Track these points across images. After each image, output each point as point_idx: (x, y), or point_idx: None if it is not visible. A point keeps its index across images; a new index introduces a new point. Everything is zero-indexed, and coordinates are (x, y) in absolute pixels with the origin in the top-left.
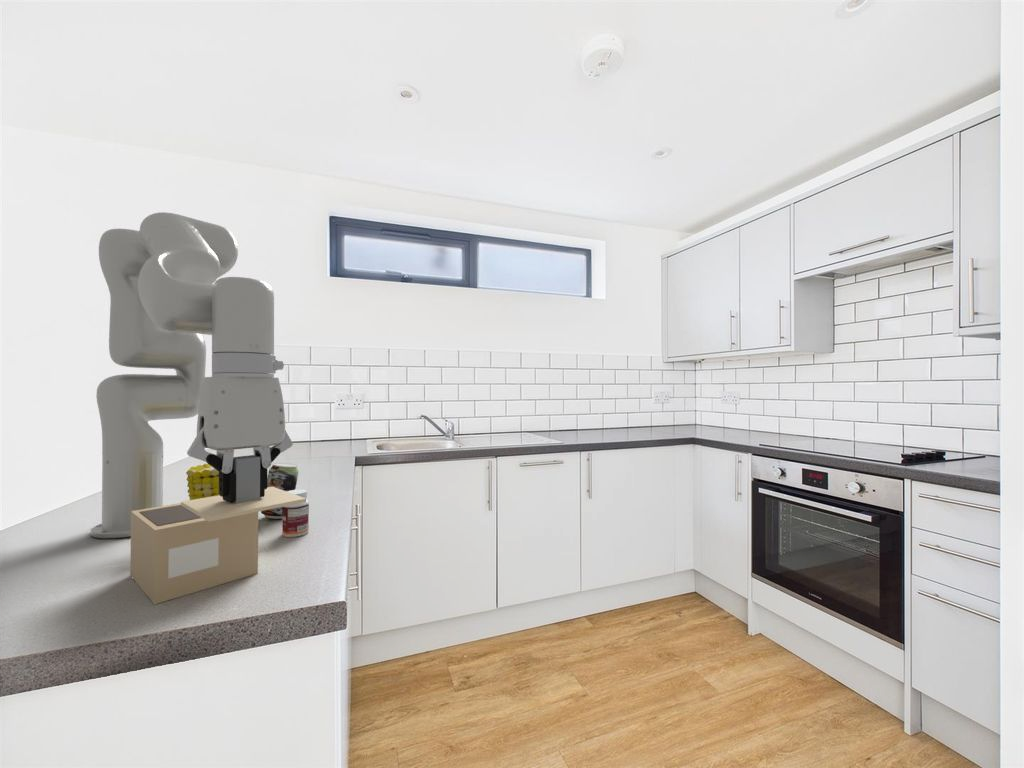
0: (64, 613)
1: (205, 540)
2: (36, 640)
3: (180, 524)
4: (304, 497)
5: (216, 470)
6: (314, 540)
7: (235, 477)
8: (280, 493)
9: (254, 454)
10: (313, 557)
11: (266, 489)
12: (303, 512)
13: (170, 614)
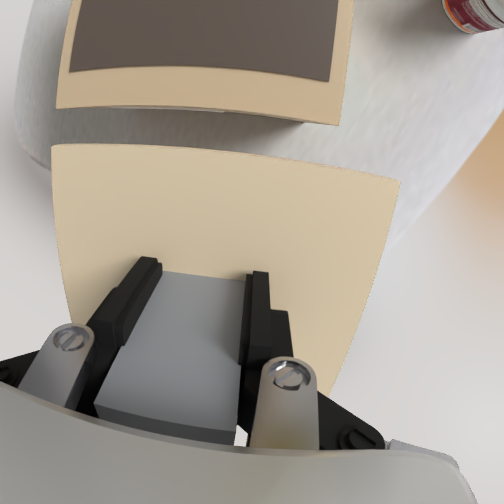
0: (58, 46)
1: (183, 108)
2: (28, 115)
3: (106, 97)
4: None
5: (65, 324)
6: (464, 75)
7: None
8: (333, 317)
9: (252, 426)
10: (412, 150)
11: (352, 214)
12: (496, 26)
13: None
